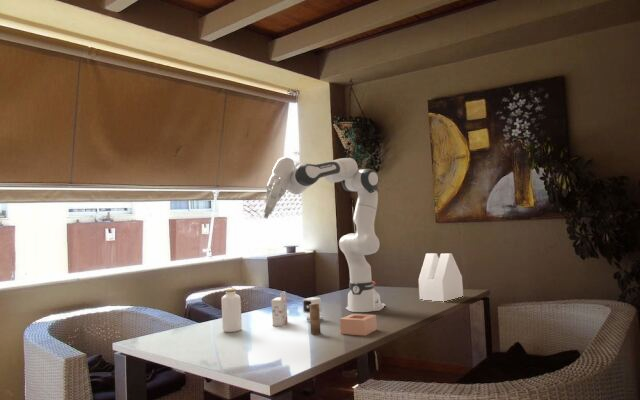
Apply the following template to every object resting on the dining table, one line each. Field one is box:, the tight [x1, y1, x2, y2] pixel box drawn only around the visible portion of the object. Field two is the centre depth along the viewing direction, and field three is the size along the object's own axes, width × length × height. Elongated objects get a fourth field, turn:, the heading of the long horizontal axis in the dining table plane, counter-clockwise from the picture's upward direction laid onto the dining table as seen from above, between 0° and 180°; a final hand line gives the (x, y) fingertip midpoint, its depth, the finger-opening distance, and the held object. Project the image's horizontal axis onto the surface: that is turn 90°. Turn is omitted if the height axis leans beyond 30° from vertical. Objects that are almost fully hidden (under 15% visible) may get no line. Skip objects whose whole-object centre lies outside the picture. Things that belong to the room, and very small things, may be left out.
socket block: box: [339, 313, 378, 337], centre depth 201 cm, size 11×11×6 cm
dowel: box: [309, 303, 322, 335], centre depth 203 cm, size 4×4×12 cm
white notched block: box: [418, 252, 464, 303], centre depth 271 cm, size 19×15×25 cm
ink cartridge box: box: [270, 290, 288, 327], centre depth 226 cm, size 9×5×15 cm, turn 168°
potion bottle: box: [221, 288, 243, 333], centre depth 217 cm, size 8×8×18 cm
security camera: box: [302, 296, 323, 321], centre depth 231 cm, size 6×7×10 cm
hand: (267, 212), depth 214 cm, fingers open, 8 cm apart
